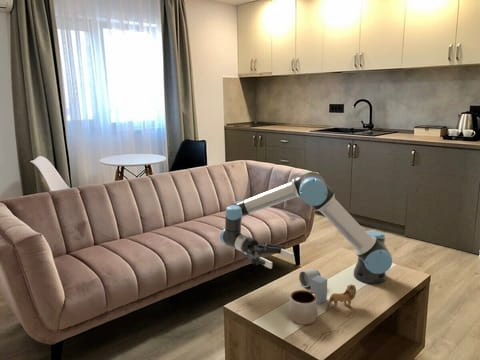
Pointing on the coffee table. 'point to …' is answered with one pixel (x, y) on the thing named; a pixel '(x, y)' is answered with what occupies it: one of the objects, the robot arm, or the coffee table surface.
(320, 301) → the slate block
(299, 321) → the planter
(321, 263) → the coffee table surface
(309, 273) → the ceramic mug
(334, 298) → the lion figurine
